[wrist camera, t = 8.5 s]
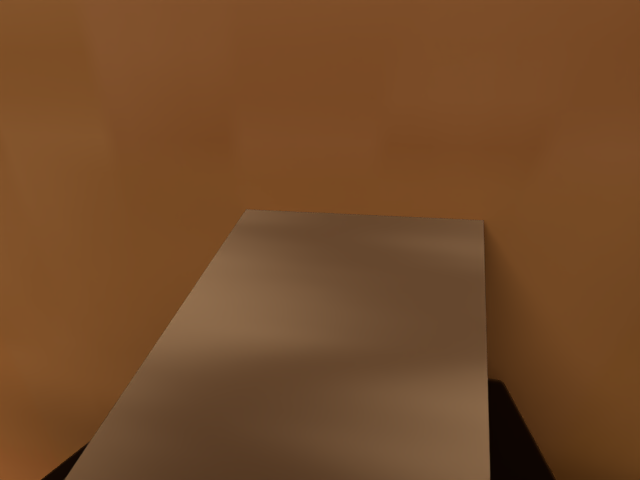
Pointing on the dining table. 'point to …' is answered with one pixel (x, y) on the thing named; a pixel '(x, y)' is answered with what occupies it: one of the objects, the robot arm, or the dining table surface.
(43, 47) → the dining table surface
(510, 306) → the dining table surface
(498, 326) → the dining table surface
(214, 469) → the wooden mallet
